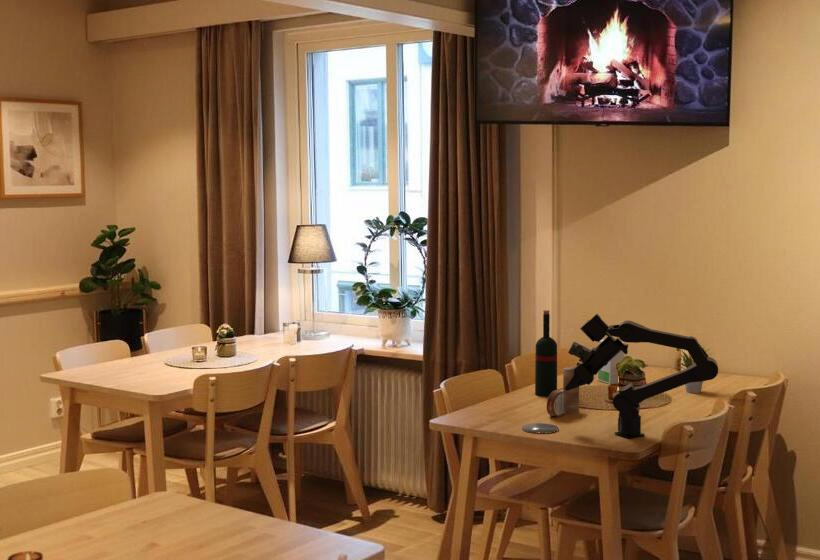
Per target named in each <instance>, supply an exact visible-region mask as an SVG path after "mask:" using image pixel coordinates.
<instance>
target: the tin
mask: <svg viewBox="0 0 820 560" xmlns="http://www.w3.org/2000/svg"><path fill="white" fill-rule="evenodd" d="M546 412H547V415H549V416H552V417H557V418H558V417H560V416H564V415H566V414H568V413H566V412H563V387H561V388H559V389H558V388H557V390H554V391H552V392H551V394H550V395H549V397H547V400H546Z"/></svg>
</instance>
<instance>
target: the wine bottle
mask: <svg viewBox="0 0 820 560" xmlns="http://www.w3.org/2000/svg"><path fill="white" fill-rule="evenodd" d="M542 315H543V317H542V319H543V320H542V321H543V323H542V327H543V330H542V337H540V338H539V339H538V340H537V341H536V342H535V343H536V344H535V351H534V352H535V367H534V368H535V371H534V374H535V375H534V376H535V377H534V378H535V379H534V382H535V383H534V396H537V397H541V398H542V397H543V398H544V397H545V398H548V397H549V395H550V394H551V392H552V391H554V390H557V389H558V344H557V342H556V340H555V339H553V337H551V336H550V332H551V331H550V330H551V329H550V317H551V316H550V309H549V310H543V314H542Z"/></svg>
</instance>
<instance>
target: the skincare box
mask: <svg viewBox="0 0 820 560" xmlns="http://www.w3.org/2000/svg"><path fill="white" fill-rule="evenodd" d="M603 340H604V339H602V340H600V341H599V342H598V345H599V344H600V343H601V342H602V341H603ZM621 342H622V343H623V344H626V342H623V341H621ZM623 358H624V359H625V354H624V353H623V352H622V351H620V352H619V353H618V354H617V355H616V356H615V357H614V358H612V359H611V360H610V361H609V362H608V364H607V365H606V366H604V367H603V368H602V369H601V370H600V371H598V373H597V376H596V377H597V378H596V379H597V381H600V382H602V383H605V384H608V385H616V384H617V385H618V384H619V383H618V374H617V370H616V364H617V363H618V362H619V361H621V359H623Z"/></svg>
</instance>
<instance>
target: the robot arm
mask: <svg viewBox="0 0 820 560" xmlns="http://www.w3.org/2000/svg"><path fill="white" fill-rule="evenodd" d="M579 329H580V330H581V332H582V333H584V334H585V336H586V337H587V338H588V339H589V340H590V341H591V342H592V343H594V342H597V343H598V345H597V346H595V347H592V349H589V348H588V347H587V346H584V345H582V344H580V343H578V342H576V341H573V342H572V343H571V345H570V347H569V350H568V351H567V353H568V354H569V355H571V356H575V357H577V358H579V359H578V362H577V363H576V366H575V367H573V368H574V376H573V377H572V379H571V380H570V381H569V383H568V384H567V385H566V387H565V390H566V391H568V390H571V389H574V388H577V387H579V388H580V387H583V386H585V385H587V386H589V385H590V384H592V383H593V382H594V380H595V376H596V375H598V371H600V370H601V369H602V368H603V367H604V366H606V365H607V364H608V362H609V361H610V360H611V359H612V358H614V357H615V356H616V355H617V354H618V353H619V352H620V351H622V352H623V353H624V355H627V354H628V352H629V346H630V345H629V344H628V343H636V344H637V343H648V344H649V343H650V344H654V345H659V346H663V347H664V346H665V347H668V348H673V349H679V350H682V351H683V350H684V351H686V352H688V354H689V355H690V356H691V359H692V361H693V360H694V361H693V362H692V363H693V364H692V365H691V366H689V367H688V368H686V367H685V368H684V369H683V370H680V371H677V372H675V373H672V374H669V375H666V376H664V377H661V378H659V379H656V380H653V381H650V382H648V383H645V384H642V385H638V386H634V383H633V382H630V383H628V384H627V385H625V386H620V387H619V389H618V390H617V391H616V392H615V393H614V395H613V399H612V406H613V408H614V409H615V410H617V412H618V418H617V431H615V432H614V435H617V436H621V437H623V438H626V439H631V438H632V439H633V438H639V437H644V436H645V435H646V434H645V433H643V432H641V431H642V430H641V429H642V427H641V426H642V425H641V424H642V416H641V415H640V409H641V405H640V404H641V403H642V402H644V401H645V400H648V399H650V398H653V397H655V396H658V395H661V394H663V393H666V392H669V391H671V390H674V389H676V388H679V387H683V386H685V384H688V383H691V382H702V381H703V382H706V381H707V382H708V381H711V380H713V379H715V378H716V377H717V376H718V373H719V365H718V362H717V361H716V359H715V358H713V357H712V356H710V355H708V353H707V352H705V349H704V348H703V347H702V345H701V344H700V343H699V341H698V339H697V337H694V336H687V335H684V334H683V335H682V334H676V333H672V332H667V331H662V330H657V329H651V328H649V327H647V326H644V325H642V324H640V323H637V322H635V321H632V320H624V321H623V322H620V324H612V325H608V324H607V323H606V322H605V321H604V320H603V319H602V318H601V316H600V315H599V314H598V313H596V314H594V315H593V316H592V318H590V319H588V320H587V321H586V322H585V323H584V324H583V325H582V326H581V327H580V328H579ZM615 337H616V338H615ZM600 340H603V341H602V342H601V343H600V344H599V341H600ZM622 342H624V343H625V344H623V343H622ZM690 356H689V357H690ZM694 362H695V363H694Z"/></svg>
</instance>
